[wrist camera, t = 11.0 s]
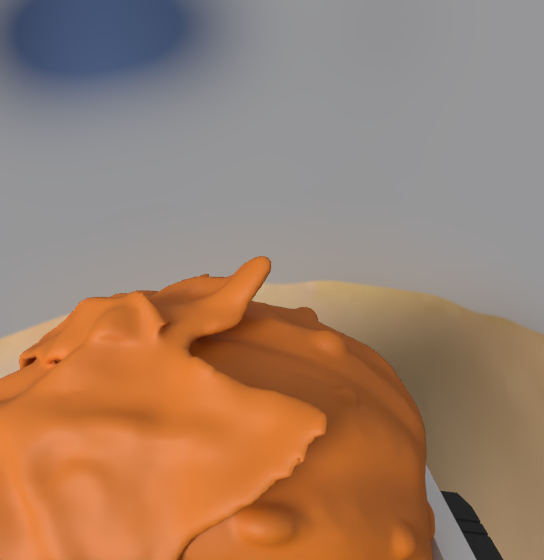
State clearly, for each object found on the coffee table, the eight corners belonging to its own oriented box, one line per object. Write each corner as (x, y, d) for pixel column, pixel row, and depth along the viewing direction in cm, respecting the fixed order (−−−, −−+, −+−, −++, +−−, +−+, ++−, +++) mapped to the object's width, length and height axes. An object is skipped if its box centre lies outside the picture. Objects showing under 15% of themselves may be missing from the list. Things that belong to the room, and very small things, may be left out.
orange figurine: (325, 710, 18) (897, 1564, 2) (49, 669, 18) (-1037, 1270, 3) (337, 423, 24) (525, 167, 9) (132, 393, 24) (-41, 85, 9)
